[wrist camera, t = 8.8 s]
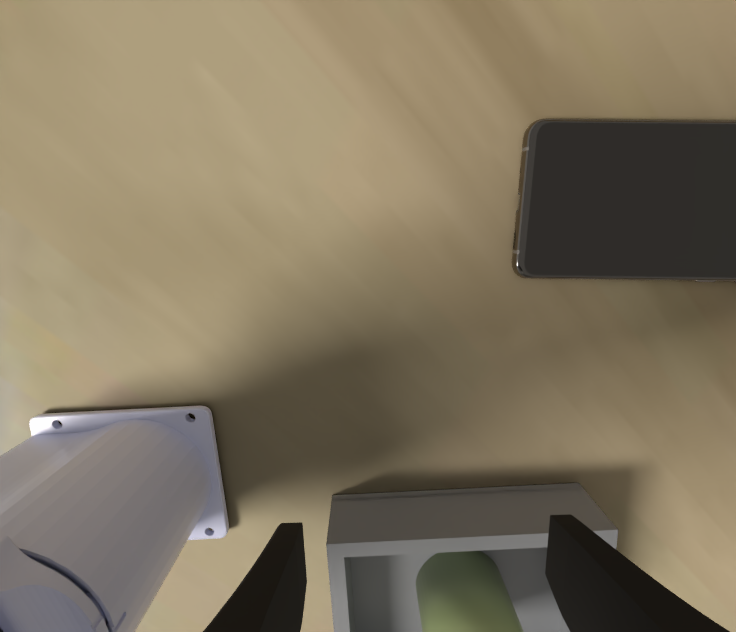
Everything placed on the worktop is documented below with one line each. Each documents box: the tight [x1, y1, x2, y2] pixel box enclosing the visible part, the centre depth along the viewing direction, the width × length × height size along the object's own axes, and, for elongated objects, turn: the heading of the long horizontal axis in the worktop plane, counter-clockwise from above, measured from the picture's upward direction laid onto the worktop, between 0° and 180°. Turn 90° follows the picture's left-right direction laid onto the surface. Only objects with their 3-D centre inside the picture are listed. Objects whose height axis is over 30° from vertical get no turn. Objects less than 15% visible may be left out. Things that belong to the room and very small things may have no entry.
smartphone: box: [512, 119, 736, 282], centre depth 18 cm, size 7×1×16 cm
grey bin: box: [326, 483, 618, 632], centre depth 21 cm, size 14×12×4 cm
